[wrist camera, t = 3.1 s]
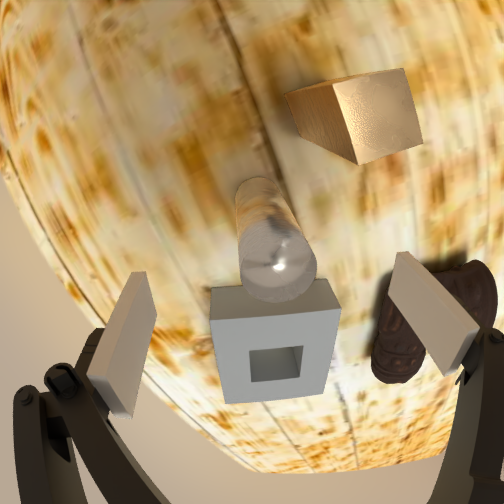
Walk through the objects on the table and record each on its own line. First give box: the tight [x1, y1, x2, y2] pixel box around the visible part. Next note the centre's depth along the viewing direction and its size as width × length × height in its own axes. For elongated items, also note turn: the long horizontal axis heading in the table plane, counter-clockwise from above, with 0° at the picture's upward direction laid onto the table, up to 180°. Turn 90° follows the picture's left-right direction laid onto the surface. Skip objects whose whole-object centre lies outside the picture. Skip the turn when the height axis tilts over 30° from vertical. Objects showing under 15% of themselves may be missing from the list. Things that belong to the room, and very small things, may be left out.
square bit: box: [284, 68, 423, 166], centre depth 17 cm, size 4×4×12 cm
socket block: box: [209, 279, 342, 404], centre depth 31 cm, size 14×12×5 cm
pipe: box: [371, 260, 498, 384], centre depth 31 cm, size 10×15×15 cm
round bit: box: [235, 177, 317, 303], centre depth 20 cm, size 4×4×12 cm
